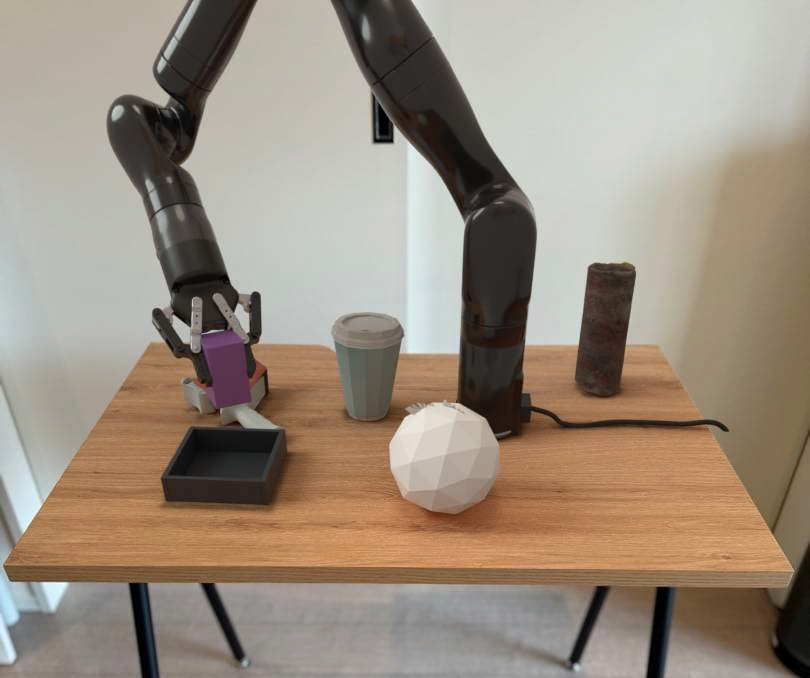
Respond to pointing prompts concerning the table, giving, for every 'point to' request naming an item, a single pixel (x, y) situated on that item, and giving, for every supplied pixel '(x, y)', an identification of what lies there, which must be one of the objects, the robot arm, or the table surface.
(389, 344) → the disposable coffee cup
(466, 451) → the geodesic sphere
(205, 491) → the tray
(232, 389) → the plum block
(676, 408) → the table surface
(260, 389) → the tape dispenser
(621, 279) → the candle
